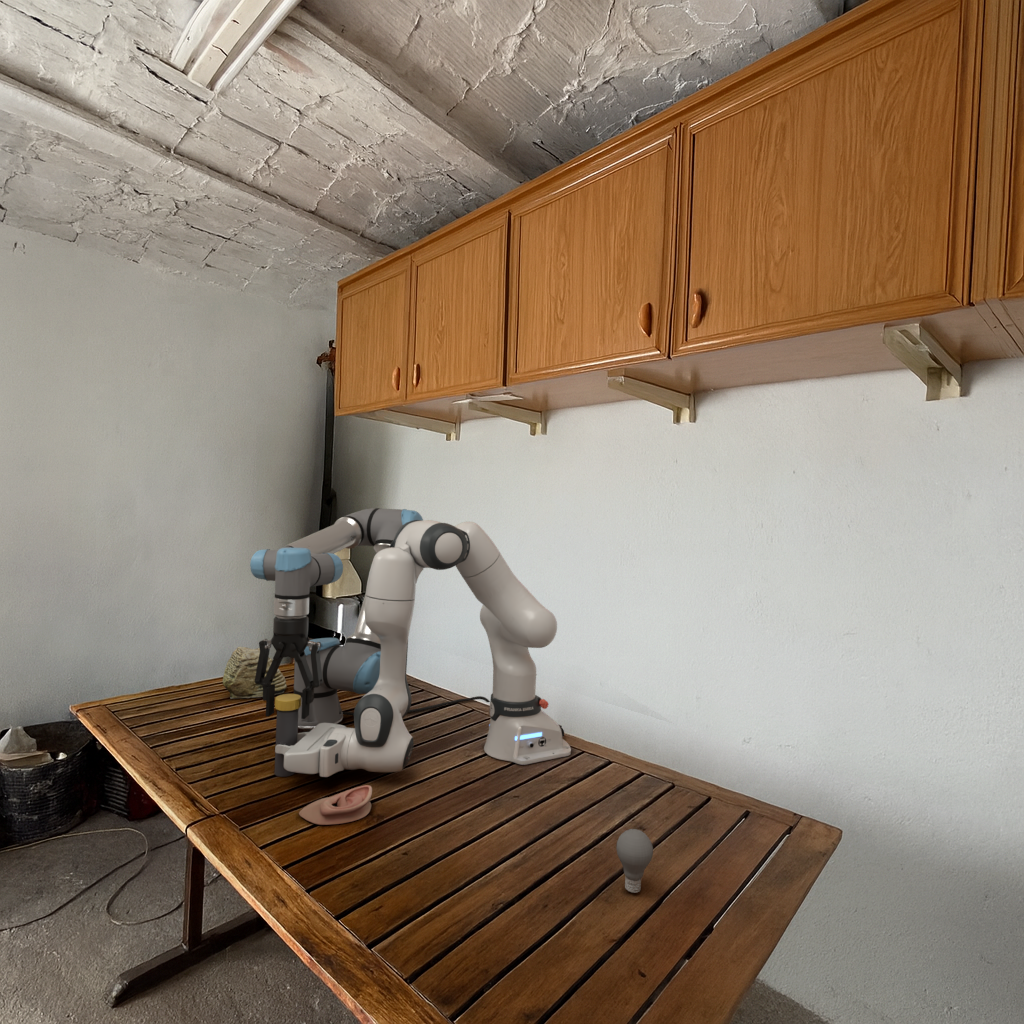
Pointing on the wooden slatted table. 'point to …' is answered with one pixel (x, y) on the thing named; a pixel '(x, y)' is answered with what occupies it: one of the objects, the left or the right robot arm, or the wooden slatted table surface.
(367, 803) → the anatomical model
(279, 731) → the jar
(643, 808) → the wooden slatted table surface
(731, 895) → the wooden slatted table surface
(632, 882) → the light bulb
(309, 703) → the left robot arm
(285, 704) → the lid
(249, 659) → the fossil
